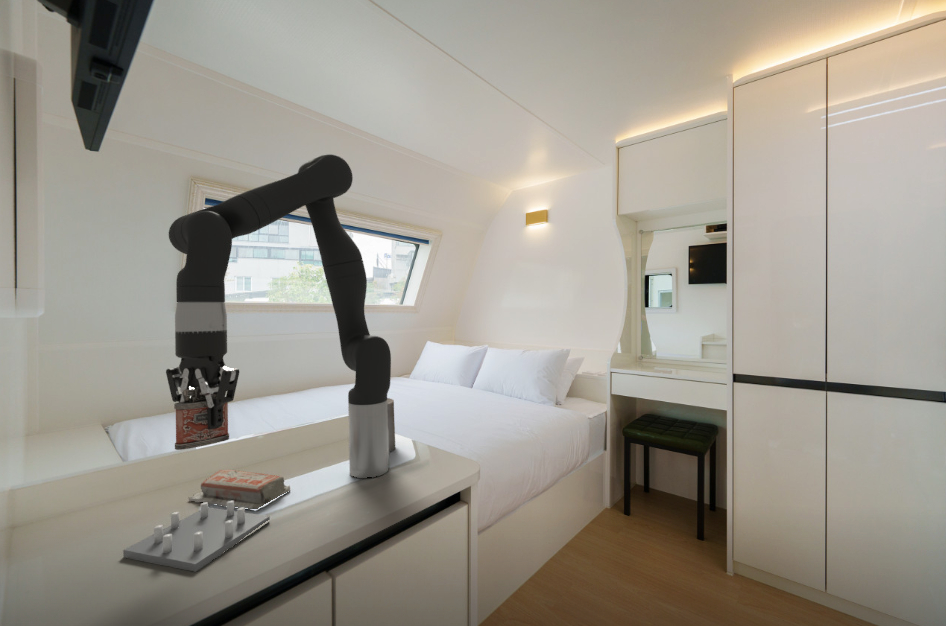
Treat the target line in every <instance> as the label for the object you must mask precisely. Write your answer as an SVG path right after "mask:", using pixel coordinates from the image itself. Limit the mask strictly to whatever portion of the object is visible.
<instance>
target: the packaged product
mask: <svg viewBox="0 0 946 626" xmlns="http://www.w3.org/2000/svg"><path fill="white" fill-rule="evenodd" d="M284 478H285V477H284V476H280V475H276V474H268V473H262V472H261V473H257V472H251V471H245V470H244V471H243V470H235V469H219V470H217V471H215V472H214V473H213V474H212V475H210V476H209V477H208V478H206V479H204V481H202V482H201V484H200V489H201V491H200V492H197V493H195V494H193V495H192V496H191V497H189V496H188V501H189V502H191V501H195V502H194V503H200V502H203V503H204V502H208V503H210V504H209V505H211V504H217V505H222V506H227V502H228V501H234V507H238V508H241V507H244V508H248V509H258V508H259V507H261V506H263V505H264V504H266V503H268V502H270V501H271V500H273V499H275V498H277V497H278V496H280V495H282V494H284V493H286V492H288V491H291V485H285V479H284ZM217 505H216V506H217ZM222 506H221V507H222Z"/></svg>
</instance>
